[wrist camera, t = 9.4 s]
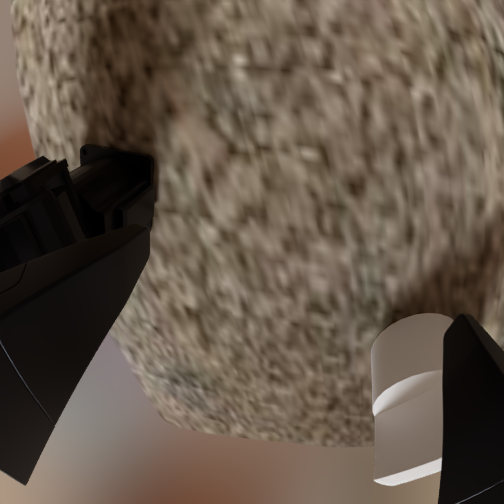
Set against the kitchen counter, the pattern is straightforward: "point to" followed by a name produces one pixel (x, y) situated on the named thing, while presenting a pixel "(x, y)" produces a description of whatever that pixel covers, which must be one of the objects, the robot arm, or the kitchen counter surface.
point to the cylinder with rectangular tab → (408, 398)
